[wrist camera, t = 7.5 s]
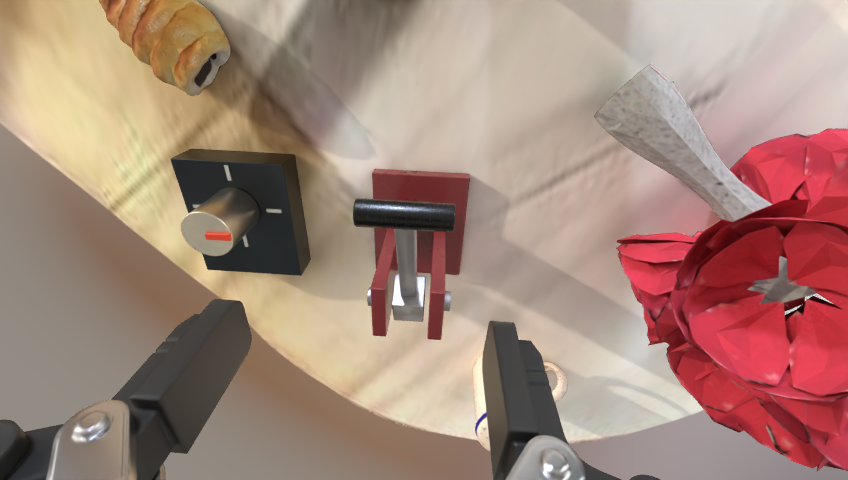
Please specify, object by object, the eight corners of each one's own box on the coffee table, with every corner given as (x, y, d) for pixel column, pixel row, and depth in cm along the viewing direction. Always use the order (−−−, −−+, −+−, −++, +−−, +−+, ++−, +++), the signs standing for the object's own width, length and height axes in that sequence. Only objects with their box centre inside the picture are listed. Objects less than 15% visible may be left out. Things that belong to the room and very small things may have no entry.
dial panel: (190, 148, 34) (168, 159, 31) (294, 154, 34) (281, 165, 31) (222, 254, 40) (206, 270, 37) (310, 259, 40) (301, 276, 37)
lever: (358, 185, 18) (349, 222, 17) (455, 190, 18) (455, 228, 17) (379, 290, 28) (375, 319, 27) (442, 294, 28) (441, 323, 27)
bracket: (374, 168, 34) (335, 244, 22) (469, 173, 34) (481, 253, 22) (377, 263, 40) (348, 364, 28) (458, 268, 39) (464, 372, 28)
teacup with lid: (500, 398, 50) (514, 490, 40) (456, 366, 48) (459, 457, 38) (573, 359, 46) (609, 452, 36) (529, 320, 43) (555, 410, 33)
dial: (221, 226, 35) (187, 256, 30) (209, 186, 32) (170, 212, 28) (263, 229, 34) (236, 259, 30) (254, 188, 32) (223, 215, 28)
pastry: (99, 10, 28) (53, 7, 25) (132, -68, 26) (87, -83, 22) (205, 100, 31) (178, 108, 28) (245, 38, 29) (220, 39, 26)
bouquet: (522, 193, 42) (715, 410, 37) (477, 185, 20) (941, 718, 15) (699, 41, 34) (969, 287, 29) (943, -244, 12) (2149, 536, 8)
